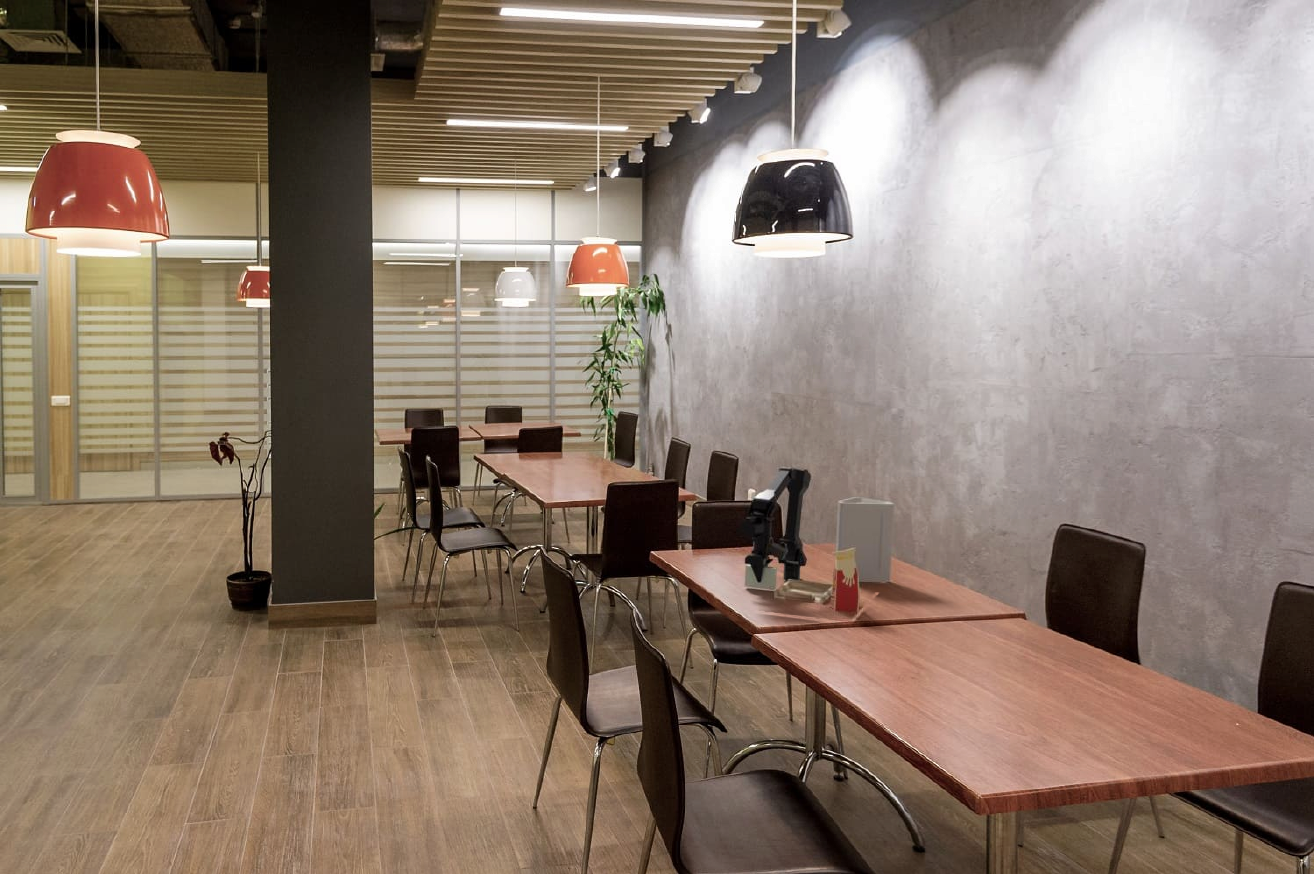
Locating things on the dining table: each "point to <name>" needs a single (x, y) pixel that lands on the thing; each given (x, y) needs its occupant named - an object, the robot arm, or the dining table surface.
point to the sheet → (767, 578)
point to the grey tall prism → (867, 536)
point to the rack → (806, 589)
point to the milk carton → (845, 582)
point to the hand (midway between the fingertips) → (760, 581)
